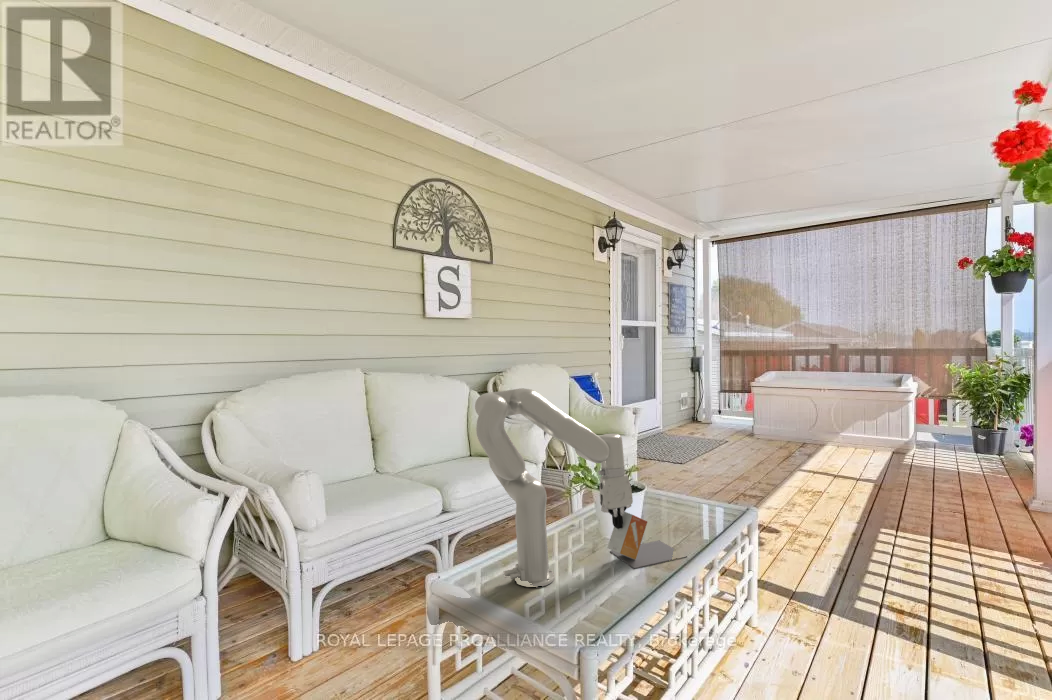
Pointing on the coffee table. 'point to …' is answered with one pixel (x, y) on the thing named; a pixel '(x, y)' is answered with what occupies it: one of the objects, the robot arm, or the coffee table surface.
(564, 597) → the coffee table surface
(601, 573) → the coffee table surface
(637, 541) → the small box
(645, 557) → the mat
